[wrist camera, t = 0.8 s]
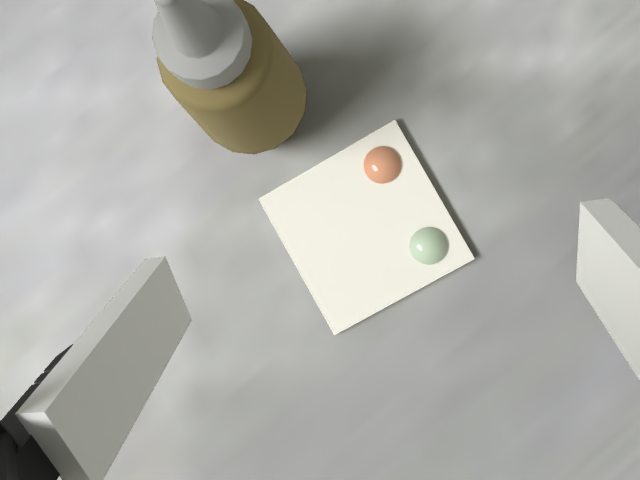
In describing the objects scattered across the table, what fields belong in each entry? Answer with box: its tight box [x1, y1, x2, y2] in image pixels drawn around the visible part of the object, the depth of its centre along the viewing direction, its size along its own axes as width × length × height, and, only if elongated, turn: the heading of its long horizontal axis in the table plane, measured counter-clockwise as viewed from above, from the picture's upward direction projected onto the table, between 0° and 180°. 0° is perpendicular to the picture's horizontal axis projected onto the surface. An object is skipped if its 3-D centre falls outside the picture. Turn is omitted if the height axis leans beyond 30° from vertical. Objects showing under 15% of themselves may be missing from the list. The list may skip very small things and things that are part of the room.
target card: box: [259, 120, 475, 335], centre depth 36 cm, size 12×12×1 cm
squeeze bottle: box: [152, 0, 307, 154], centre depth 28 cm, size 8×8×18 cm
